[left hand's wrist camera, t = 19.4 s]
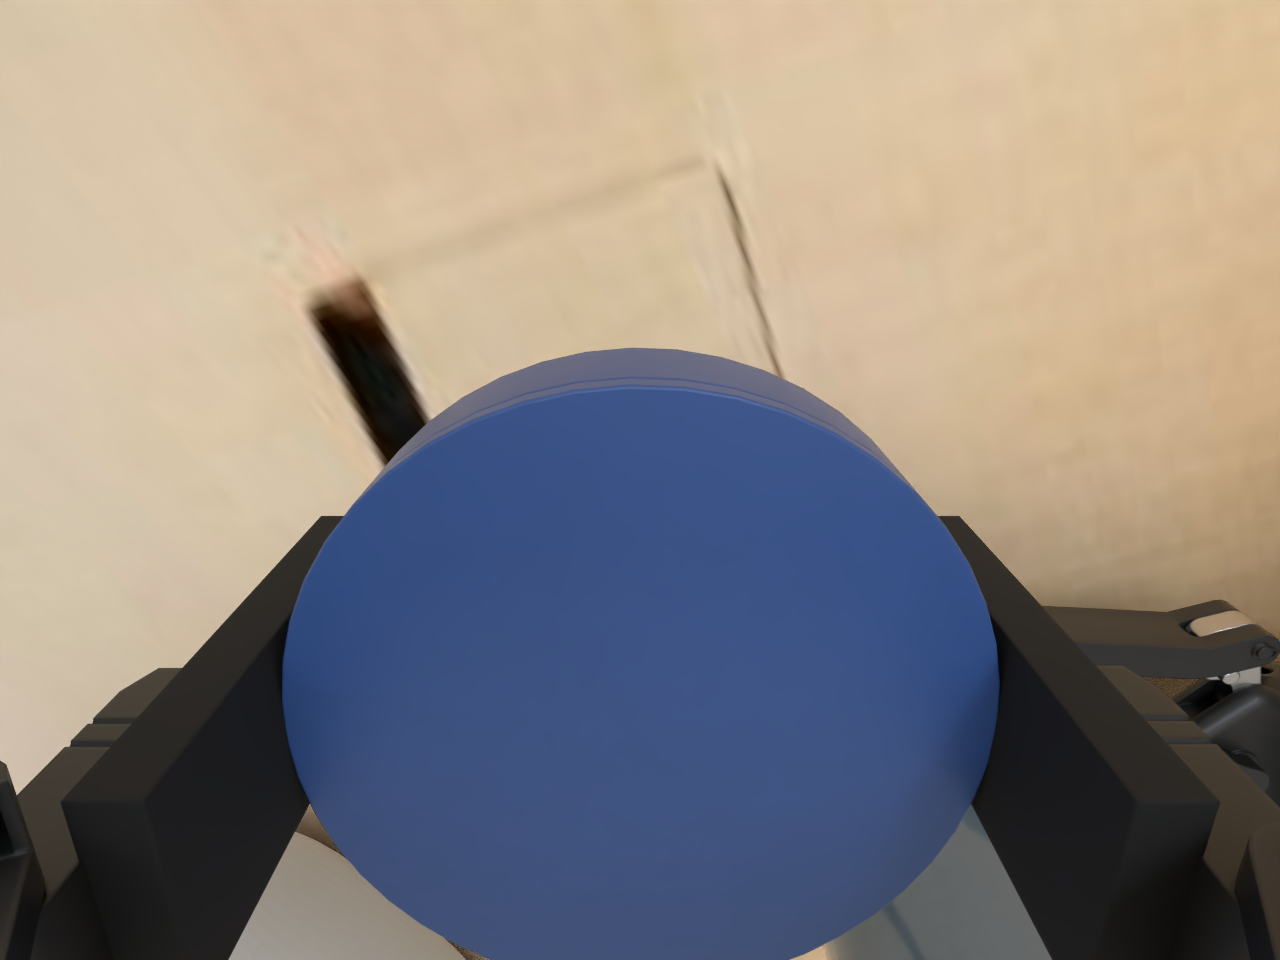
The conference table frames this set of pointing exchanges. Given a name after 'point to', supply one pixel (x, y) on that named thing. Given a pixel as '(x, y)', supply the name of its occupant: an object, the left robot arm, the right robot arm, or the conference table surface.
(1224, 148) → the conference table surface
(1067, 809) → the left robot arm
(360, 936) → the projector
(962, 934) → the jar
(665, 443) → the lid
